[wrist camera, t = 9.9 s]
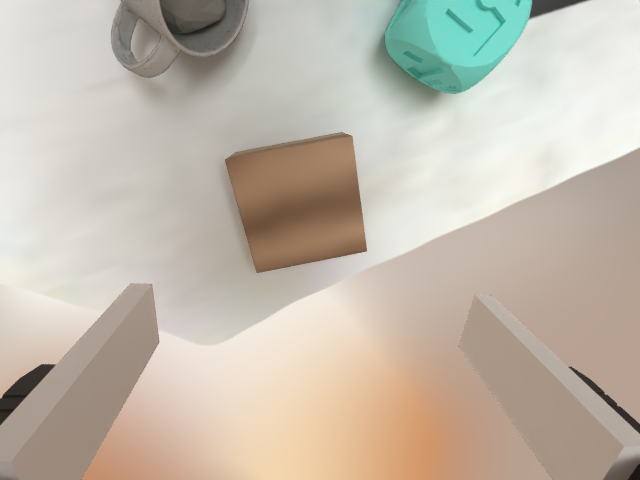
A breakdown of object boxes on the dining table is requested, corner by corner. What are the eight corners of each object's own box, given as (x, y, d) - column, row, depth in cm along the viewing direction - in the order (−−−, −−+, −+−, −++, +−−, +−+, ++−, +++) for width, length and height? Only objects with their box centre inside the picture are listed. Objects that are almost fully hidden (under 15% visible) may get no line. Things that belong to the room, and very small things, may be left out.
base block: (235, 152, 33) (225, 159, 27) (341, 132, 33) (352, 135, 27) (261, 248, 37) (256, 272, 31) (355, 230, 37) (366, 251, 31)
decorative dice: (373, 48, 30) (401, 27, 23) (425, -41, 28) (474, -97, 20) (437, 97, 32) (482, 92, 25) (490, 17, 30) (556, -14, 23)
